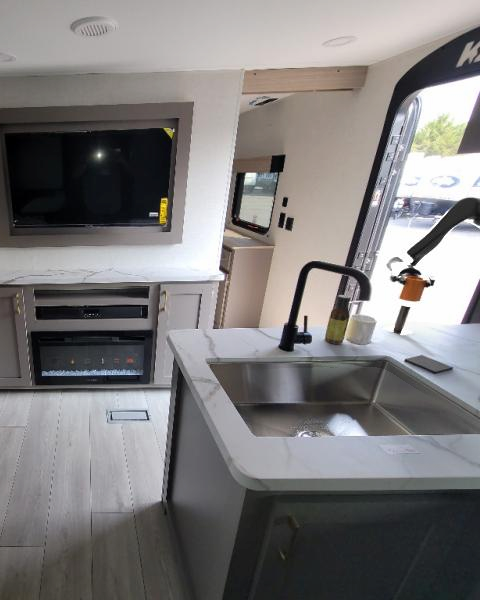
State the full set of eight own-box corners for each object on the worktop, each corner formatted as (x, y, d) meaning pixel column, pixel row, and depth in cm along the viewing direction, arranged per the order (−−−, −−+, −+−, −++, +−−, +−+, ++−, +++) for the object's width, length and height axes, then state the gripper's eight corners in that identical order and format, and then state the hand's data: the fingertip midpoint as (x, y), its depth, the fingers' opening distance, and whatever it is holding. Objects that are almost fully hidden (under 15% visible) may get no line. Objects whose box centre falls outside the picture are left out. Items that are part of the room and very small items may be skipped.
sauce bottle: (344, 346, 132) (358, 300, 125) (326, 343, 134) (338, 298, 127) (339, 338, 137) (351, 294, 130) (321, 336, 139) (333, 293, 132)
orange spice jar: (397, 295, 139) (403, 275, 136) (417, 297, 136) (424, 277, 132) (400, 299, 134) (406, 279, 131) (420, 302, 131) (428, 281, 128)
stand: (393, 328, 145) (402, 301, 140) (412, 335, 138) (422, 306, 134) (381, 330, 143) (390, 303, 138) (400, 337, 137) (410, 309, 132)
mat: (421, 356, 122) (421, 354, 122) (452, 369, 114) (453, 367, 114) (404, 360, 120) (404, 358, 120) (434, 373, 112) (435, 371, 112)
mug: (373, 351, 127) (381, 327, 123) (346, 346, 131) (353, 323, 127) (367, 338, 137) (374, 316, 133) (342, 334, 141) (349, 312, 137)
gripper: (387, 263, 146) (394, 272, 133) (432, 267, 138) (444, 277, 125) (382, 279, 149) (389, 290, 136) (426, 284, 141) (437, 295, 128)
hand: (415, 283), depth 131 cm, fingers closed on orange spice jar, 6 cm apart
